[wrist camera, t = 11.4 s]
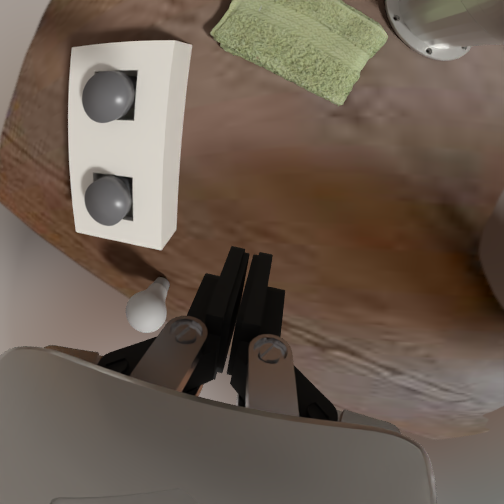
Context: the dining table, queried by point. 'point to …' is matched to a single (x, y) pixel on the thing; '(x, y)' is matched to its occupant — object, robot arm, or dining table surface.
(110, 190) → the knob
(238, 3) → the washcloth
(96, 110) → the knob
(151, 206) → the box
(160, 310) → the lightbulb
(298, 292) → the dining table surface
